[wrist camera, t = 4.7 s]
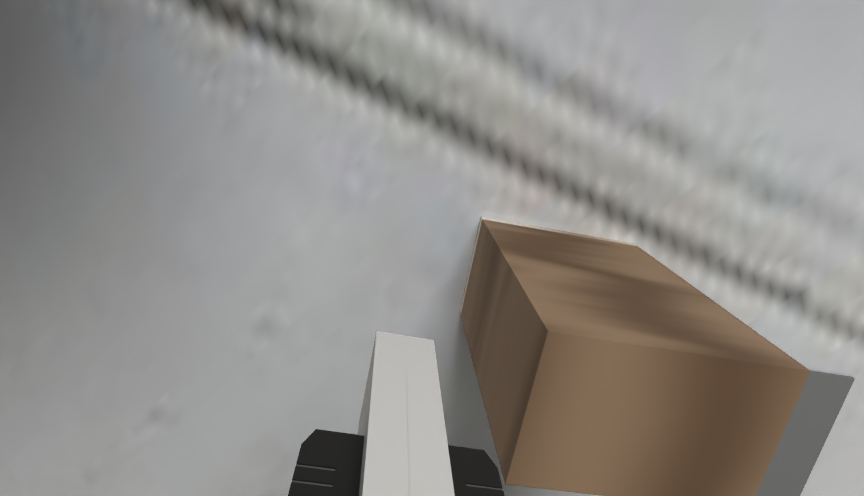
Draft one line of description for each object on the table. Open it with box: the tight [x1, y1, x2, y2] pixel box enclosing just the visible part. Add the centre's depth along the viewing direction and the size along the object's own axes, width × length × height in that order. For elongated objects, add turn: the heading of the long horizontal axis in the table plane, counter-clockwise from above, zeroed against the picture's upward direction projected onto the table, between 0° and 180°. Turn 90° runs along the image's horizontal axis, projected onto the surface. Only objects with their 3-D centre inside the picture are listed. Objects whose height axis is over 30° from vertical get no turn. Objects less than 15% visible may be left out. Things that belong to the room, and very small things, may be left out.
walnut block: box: [460, 217, 810, 496], centre depth 20 cm, size 7×4×11 cm, turn 79°
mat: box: [756, 371, 854, 496], centre depth 28 cm, size 15×8×1 cm, turn 79°
